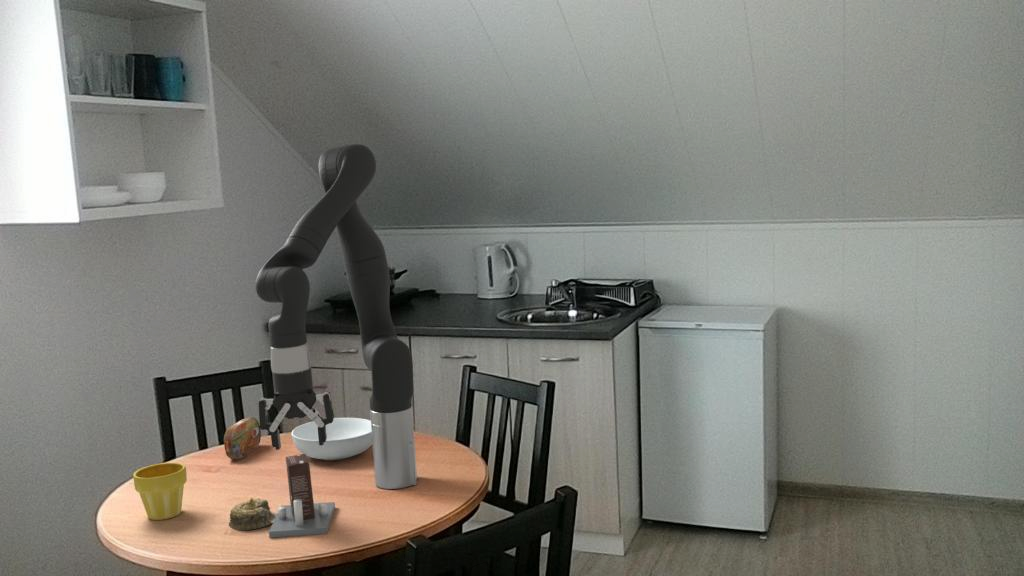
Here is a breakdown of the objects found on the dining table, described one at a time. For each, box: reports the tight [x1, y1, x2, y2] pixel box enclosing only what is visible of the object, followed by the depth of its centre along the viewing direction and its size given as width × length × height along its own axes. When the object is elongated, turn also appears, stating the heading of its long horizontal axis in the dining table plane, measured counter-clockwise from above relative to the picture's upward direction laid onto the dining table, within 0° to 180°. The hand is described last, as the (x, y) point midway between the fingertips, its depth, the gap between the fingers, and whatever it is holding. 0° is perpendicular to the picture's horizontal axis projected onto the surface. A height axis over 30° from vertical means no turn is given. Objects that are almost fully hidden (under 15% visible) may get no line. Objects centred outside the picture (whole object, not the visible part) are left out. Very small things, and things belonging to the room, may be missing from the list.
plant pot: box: [132, 462, 188, 521], centre depth 195 cm, size 10×10×10 cm
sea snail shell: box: [228, 497, 278, 531], centre depth 189 cm, size 10×10×5 cm
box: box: [285, 453, 315, 522], centre depth 187 cm, size 6×4×12 cm
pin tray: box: [268, 499, 336, 538], centre depth 187 cm, size 11×14×6 cm
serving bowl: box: [291, 417, 373, 461], centre depth 231 cm, size 21×21×7 cm
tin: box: [223, 416, 262, 460], centre depth 235 cm, size 15×3×8 cm, turn 168°
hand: (300, 446), depth 185 cm, fingers open, 8 cm apart
